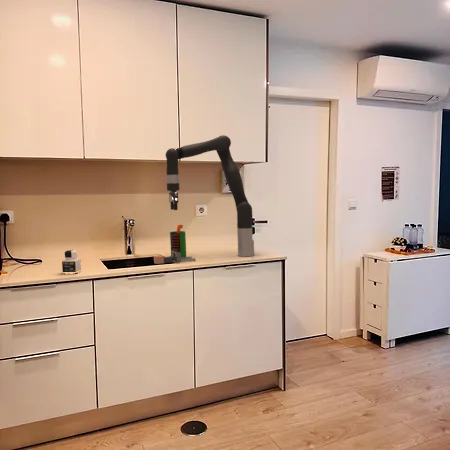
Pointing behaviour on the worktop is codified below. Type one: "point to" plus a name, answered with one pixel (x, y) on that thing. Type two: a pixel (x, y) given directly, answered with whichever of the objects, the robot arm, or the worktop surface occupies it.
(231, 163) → the robot arm
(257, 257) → the worktop surface
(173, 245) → the motor
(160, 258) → the plug
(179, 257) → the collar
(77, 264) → the medicine bottle
